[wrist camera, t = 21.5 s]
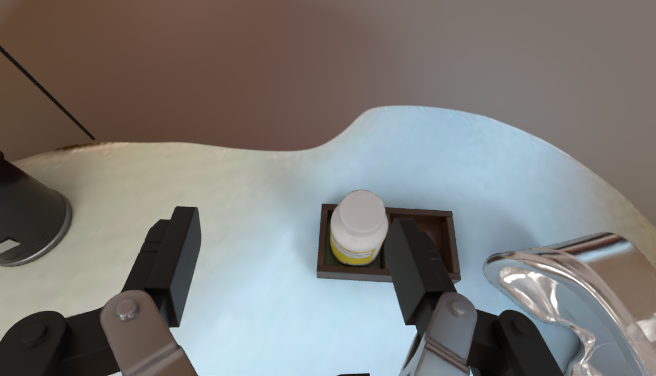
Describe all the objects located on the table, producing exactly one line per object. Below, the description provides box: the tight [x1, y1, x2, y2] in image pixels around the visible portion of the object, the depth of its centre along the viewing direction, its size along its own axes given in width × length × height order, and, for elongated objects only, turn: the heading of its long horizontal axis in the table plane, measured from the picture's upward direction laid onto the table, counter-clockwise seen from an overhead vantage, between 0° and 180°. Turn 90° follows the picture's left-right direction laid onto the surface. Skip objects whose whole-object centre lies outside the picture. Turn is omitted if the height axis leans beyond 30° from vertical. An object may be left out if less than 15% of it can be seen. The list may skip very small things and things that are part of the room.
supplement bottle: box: [330, 190, 388, 268], centre depth 32 cm, size 5×5×10 cm
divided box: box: [317, 204, 461, 285], centre depth 35 cm, size 8×14×3 cm, turn 87°
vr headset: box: [482, 232, 656, 376], centre depth 26 cm, size 18×11×14 cm, turn 16°
